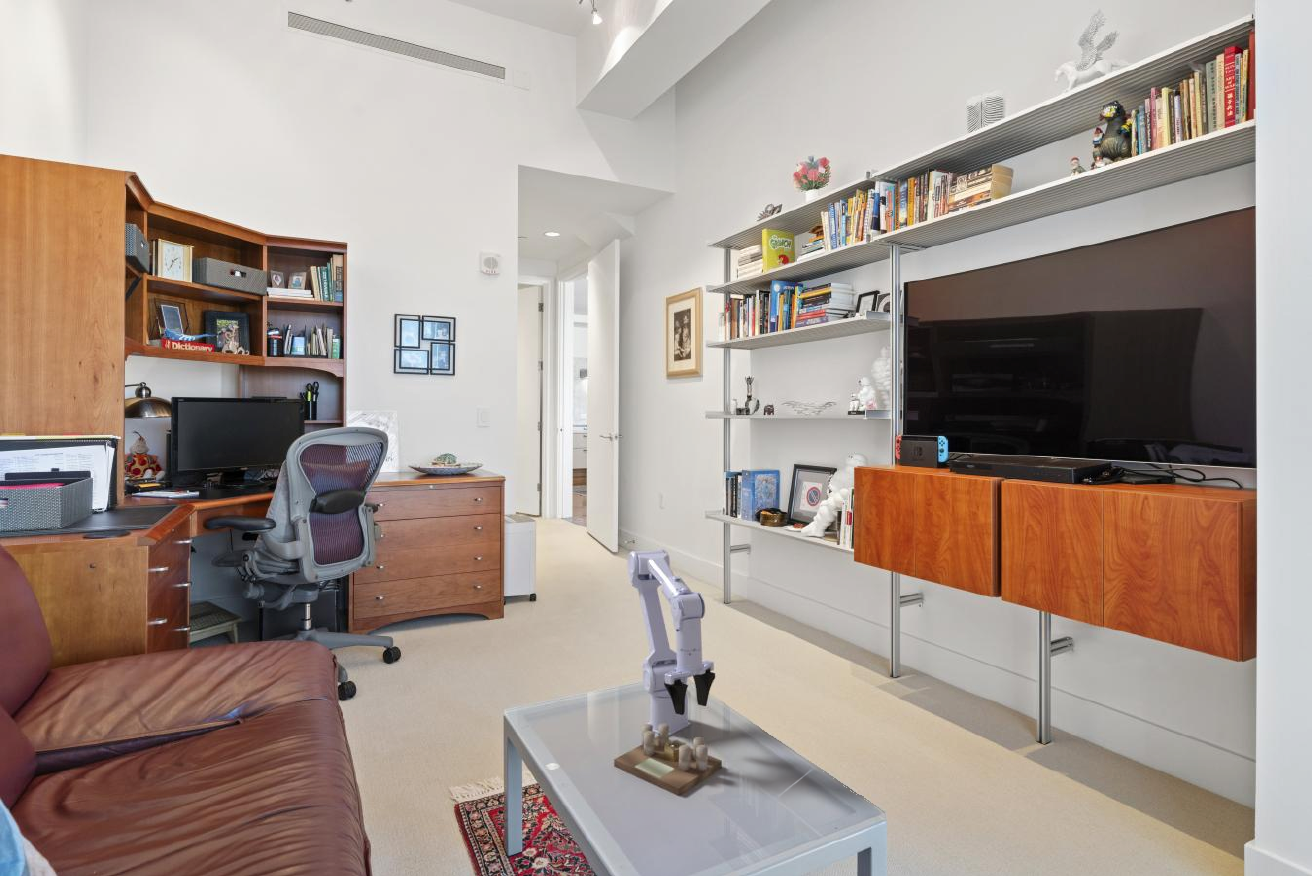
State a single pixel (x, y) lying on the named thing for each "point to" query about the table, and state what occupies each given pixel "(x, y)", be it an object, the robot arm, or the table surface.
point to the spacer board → (668, 761)
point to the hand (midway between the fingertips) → (691, 709)
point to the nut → (672, 750)
